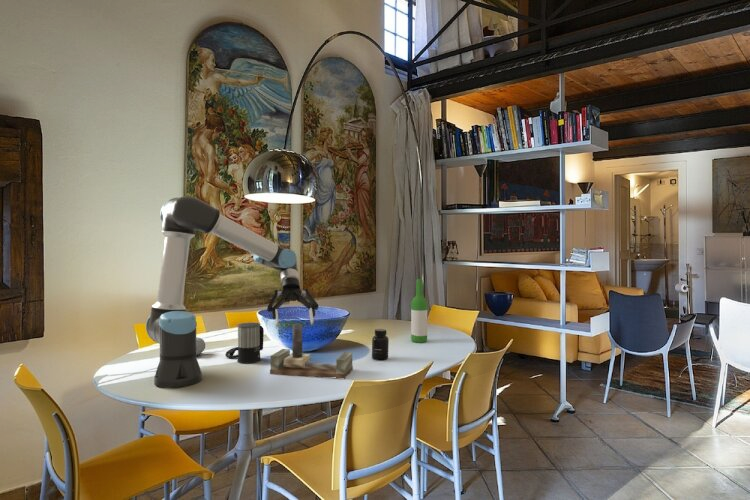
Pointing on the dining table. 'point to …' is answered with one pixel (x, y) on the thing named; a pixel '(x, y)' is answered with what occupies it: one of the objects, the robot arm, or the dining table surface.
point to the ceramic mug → (199, 345)
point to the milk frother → (248, 343)
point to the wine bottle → (419, 315)
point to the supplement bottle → (380, 345)
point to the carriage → (297, 350)
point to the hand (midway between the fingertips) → (295, 324)
